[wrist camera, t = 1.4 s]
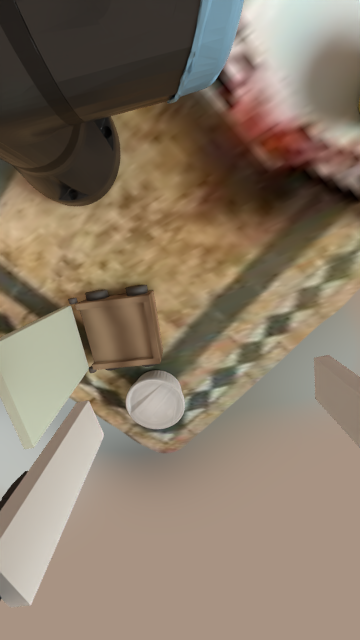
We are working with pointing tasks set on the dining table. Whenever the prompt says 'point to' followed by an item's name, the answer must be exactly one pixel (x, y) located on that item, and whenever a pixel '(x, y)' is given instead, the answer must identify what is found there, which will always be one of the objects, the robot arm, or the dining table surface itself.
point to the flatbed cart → (121, 328)
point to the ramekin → (155, 400)
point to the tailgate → (40, 372)
